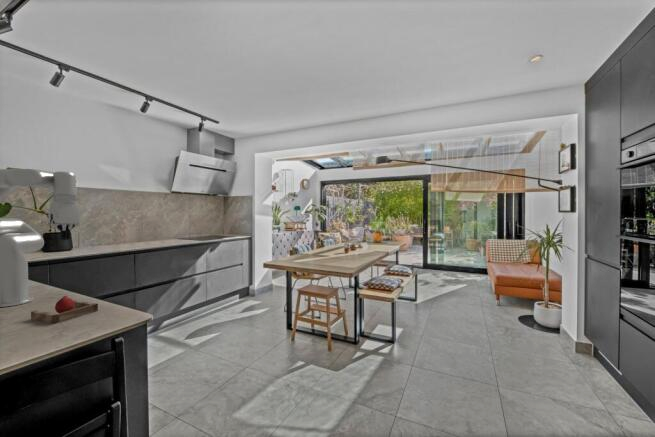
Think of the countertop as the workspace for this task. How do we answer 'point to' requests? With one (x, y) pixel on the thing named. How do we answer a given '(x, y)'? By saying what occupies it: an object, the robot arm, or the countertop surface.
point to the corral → (65, 313)
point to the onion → (64, 305)
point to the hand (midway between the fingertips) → (65, 239)
